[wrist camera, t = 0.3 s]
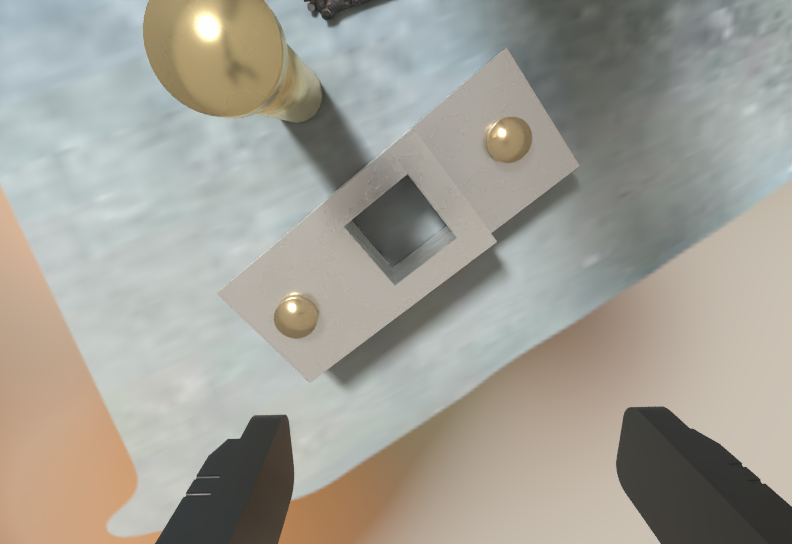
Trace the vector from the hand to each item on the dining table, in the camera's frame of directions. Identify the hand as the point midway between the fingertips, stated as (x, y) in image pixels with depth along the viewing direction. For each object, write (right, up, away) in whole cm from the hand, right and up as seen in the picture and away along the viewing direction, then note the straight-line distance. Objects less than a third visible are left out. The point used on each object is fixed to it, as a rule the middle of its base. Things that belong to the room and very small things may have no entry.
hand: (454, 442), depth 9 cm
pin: (-8, +16, +17) cm, 25 cm away
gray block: (-1, +8, +20) cm, 21 cm away
